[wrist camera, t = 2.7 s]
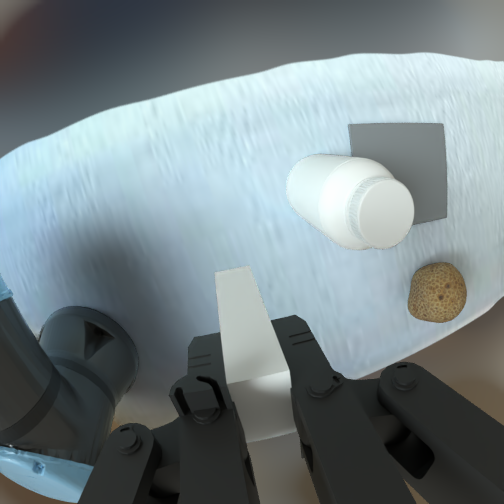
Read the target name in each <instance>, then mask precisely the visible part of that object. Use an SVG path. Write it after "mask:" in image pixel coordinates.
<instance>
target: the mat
mask: <svg viewBox="0 0 504 504" xmlns="http://www.w3.org/2000/svg"><path fill="white" fill-rule="evenodd" d="M348 129H349V137H350V145H351V153H352V157H359V158H367V159H371V160H374V161H376V162H378V163H380V164H381V165H383V166H384V167H385V168H386V169H387V170H388V171H389V172H390V173H391V174H392V175H393V177H394V178H395V180H398V181H399V182H401V183H403V184H404V185H405V186H406V188H407V189H408V190H409V192H410V194H411V196H412V199H413V203H414V219H413V223H412V225H415V224H420V223H424V222H429V221H433V220H438V219H442V218H447V168H446V149H445V136H444V126H443V124H438V123H370V124H349V125H348Z"/></svg>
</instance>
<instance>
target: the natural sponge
mask: <svg viewBox="0 0 504 504" xmlns="http://www.w3.org/2000/svg"><path fill="white" fill-rule="evenodd" d="M466 297H467V291H466V286H465V282H464V279H463V277H462V275H461V274H460V272H459V271H458V270H457V269H456V268H455V267H454V266H453V265H452V264H450V263H444V262H443V263H434V264H431V265H427V266H424V267H422V268H421V269H419V270H418V271H417V272H416V273H415V274H414V275H413V278H412V281H411V289H410V294H409V298H408V310H409V312H410V313H411V315H412V316H414V317H415V318H417V319H420V320H424V321H429V322H436V323H444V322H448V321H451V320H452V319H454V318H455V317H457V316H458V315H459V313H460V312H461V311H462V309H463V308H464V305H465V303H466Z"/></svg>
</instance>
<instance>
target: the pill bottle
mask: <svg viewBox="0 0 504 504" xmlns="http://www.w3.org/2000/svg"><path fill="white" fill-rule="evenodd" d="M286 195H287V199H288V202H289V204H290V206H291V207H292V209H293V210H294V211H295V213H296V214H297V215H299V216H300V217H301V218H302V219H304V220H305V221H306V222H308V223H309V224H310V225H312V226H313V227H314V228H316V229H317V230H318V231H320V232H321V233H322V234H323V235H325V236H326V237H327V238H329V239H330V240H331V241H332V242H334V243H335V244H337V245H339V246H340V247H343V248H345V249H349V250H366V249H370V248H372V247H373V248H376V249H387V248H391V247H393V246H395V245H397V244H398V243H400V242H401V241H402V240H403V239H404V238H405V237H406V235H407V234H408V232H409V230H410V228H411V226H412V223H413V219H414V203H413V199H412V196H411V194H410V192H409V190H408V189H407V188H406V186H405V185H404V184H403V183H401V182H399V181H398V180H395V178H394V177H393V175H392V174H391V173H390V172H389V171H388V170H387V169H386V168H385V167H384V166H383V165H381V164H380V163H378V162H376V161H374V160H371V159H367V158H359V157H350V156H339V155H328V154H314V155H310V156H307V157H305V158H303V159H301V160H300V161H299V162H297V163H296V164H295V165H294V167H293V168H292V169H291V171H290V173H289V175H288V178H287V182H286Z"/></svg>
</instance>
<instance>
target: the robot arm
mask: <svg viewBox="0 0 504 504" xmlns="http://www.w3.org/2000/svg"><path fill="white" fill-rule="evenodd" d="M214 274H215V284H216V294H217V304H218V314H219V323H220V332H219V333H214V334H209V335H204V336H198V337H194V339H193V341H192V342H191V344H190V346H189V347H188V375H186V376H185V377H183V378H181V379H180V380H178V381H177V382H176V383H175V384H174V385H173V386H172V388H171V391H170V394H169V396H170V398H171V400H172V402H173V404H174V406H175V408H176V410H177V412H178V414H179V417H178V418H177V419H175V420H174V421H173V422H170V423H168V424H166V425H164V426H161V427H158V428H156V429H153V430H149V429H148V428H147V427H146V426H144V425H141V424H138V423H128V424H125V425H122V426H119V427H118V428H117V429H115V430H114V431H113V432H112V433H111V434H110V432H111V426H112V421H113V416H114V412H115V407H116V406H117V404H118V403H119V402H120V400H121V398H122V397H123V395H124V394H125V393H126V392H127V391H128V390H129V389H130V388H131V387H132V385H133V383H134V381H135V378H136V374H137V369H138V355H137V351H136V348H135V346H134V344H133V342H132V340H131V339H130V337H129V336H128V335H127V333H126V332H125V331H124V330H123V329H122V328H121V327H120V326H119V325H118V324H117V323H116V322H114V321H113V320H112V319H110V318H109V317H107V316H105V315H103V314H101V313H99V312H97V311H95V310H92V309H88V308H84V307H66V308H62V309H59V310H57V311H56V312H54V313H53V314H52V315H51V316H50V317H49V318H48V320H47V321H46V322H45V324H44V325H43V327H42V329H41V331H40V334H39V339H38V341H37V339H36V338H35V336H34V334H33V333H32V331H31V330H30V328H29V326H28V325H27V323H26V321H25V320H24V318H23V316H22V314H21V313H20V311H19V309H18V307H17V306H16V304H15V302H14V300H13V298H12V296H13V293H12V291H11V290H10V289H8V288H7V286H6V284H5V282H4V280H3V278H2V277H1V275H0V472H1V473H2V474H4V475H5V476H6V477H8V478H9V479H11V480H13V481H14V482H16V483H18V484H20V485H22V486H23V487H25V488H28V489H30V490H32V491H34V492H36V493H39V494H41V495H44V496H47V497H50V498H54V499H57V500H62V501H67V502H75V503H77V504H260V500H259V496H258V491H257V487H256V482H255V478H254V472H253V467H252V463H251V458H250V455H249V452H248V449H247V444H246V443H249V442H254V441H259V440H264V439H269V438H273V437H278V436H282V435H286V434H290V433H294V432H296V428H297V431H298V434H299V437H300V444H301V455H302V458H305V461H306V464H307V467H308V470H309V473H310V476H311V478H312V481H313V484H314V487H315V490H316V493H317V496H318V498H319V502H320V504H416V502H415V500H414V498H413V496H412V495H411V493H410V491H409V489H408V487H407V485H406V483H405V482H404V480H405V481H406V482H408V484H410V486H412V487H413V488H414V489H415V490H416V491H417V492H418V493H419V494H420V495H421V496H422V497H423V498H424V499H425V500H426V501H427V502H428V503H429V504H504V426H503V425H502V424H500V423H499V422H497V421H496V420H495V419H493V418H492V417H491V416H489V415H488V414H486V413H485V412H484V411H482V410H481V409H480V408H478V407H477V406H475V405H474V404H473V403H471V402H470V401H468V400H467V399H466V398H464V397H463V396H462V395H460V394H458V393H457V392H456V391H454V390H453V389H452V388H450V387H449V386H448V385H446V384H445V383H443V382H442V381H441V380H439V379H438V378H436V377H435V376H433V375H432V374H431V373H429V372H428V371H427V370H425V369H424V368H422V367H421V366H418V365H416V364H414V363H408V362H400V363H394V364H392V365H390V366H388V367H387V368H386V369H385V370H383V371H382V373H381V376H380V378H378V379H367V380H352V379H347V378H345V377H344V376H343V375H342V374H341V373H338V372H336V371H334V370H333V369H332V367H331V366H330V364H329V362H328V360H327V358H326V357H325V355H324V353H323V351H322V350H321V348H320V346H319V344H318V342H317V341H316V340H315V337H314V335H313V334H312V332H311V330H310V328H309V326H308V325H307V323H306V321H304V320H303V319H301V318H300V317H298V316H296V315H292V316H288V317H284V318H280V319H275V320H271V321H270V318H269V316H268V313H267V310H266V308H265V305H264V302H263V300H262V297H261V295H260V292H259V289H258V287H257V284H256V281H255V279H254V276H253V274H252V271H251V268H250V266H249V265H248V266H244V267H239V268H234V269H229V270H224V271H219V272H214ZM403 479H404V480H403Z"/></svg>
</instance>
